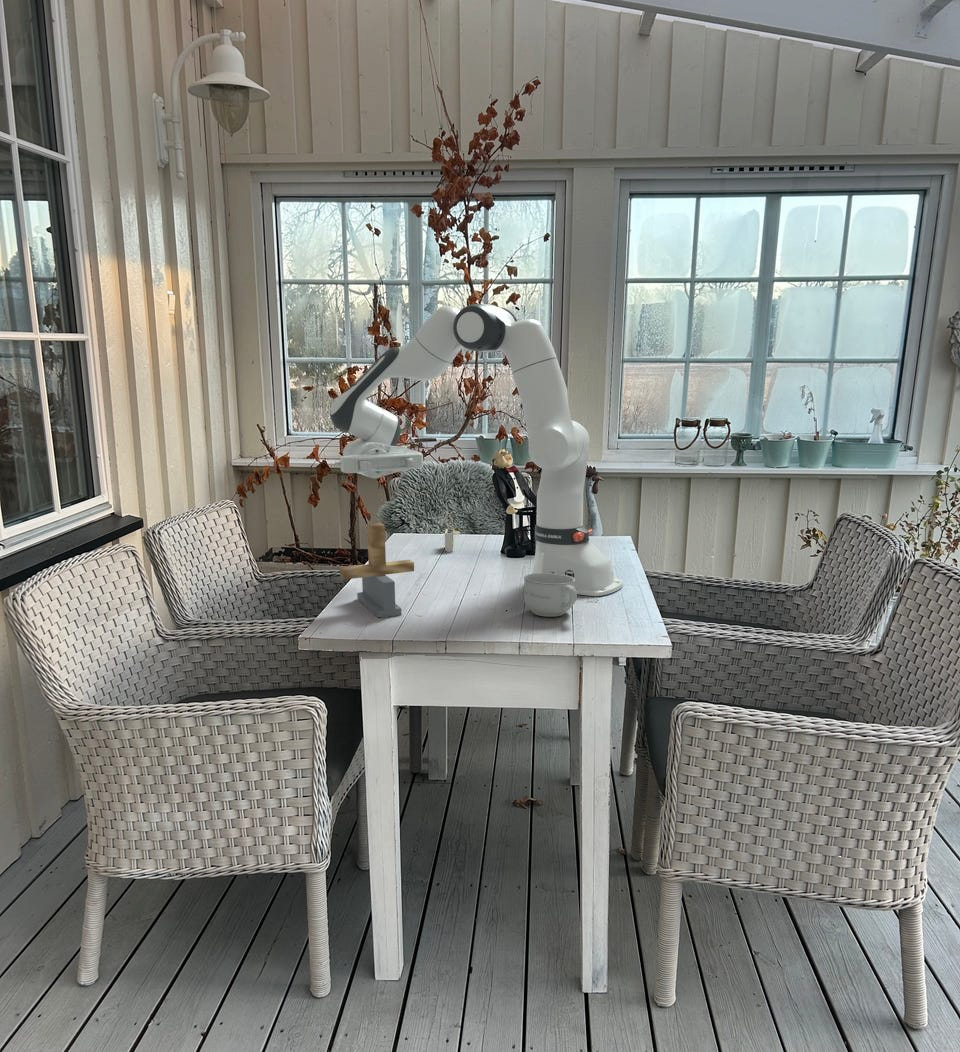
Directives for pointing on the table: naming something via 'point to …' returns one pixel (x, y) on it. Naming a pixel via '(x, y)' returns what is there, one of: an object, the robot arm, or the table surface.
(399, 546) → the table surface
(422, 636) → the table surface
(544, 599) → the teacup
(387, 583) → the ridge
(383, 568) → the wooden t-shaped post
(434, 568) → the table surface
